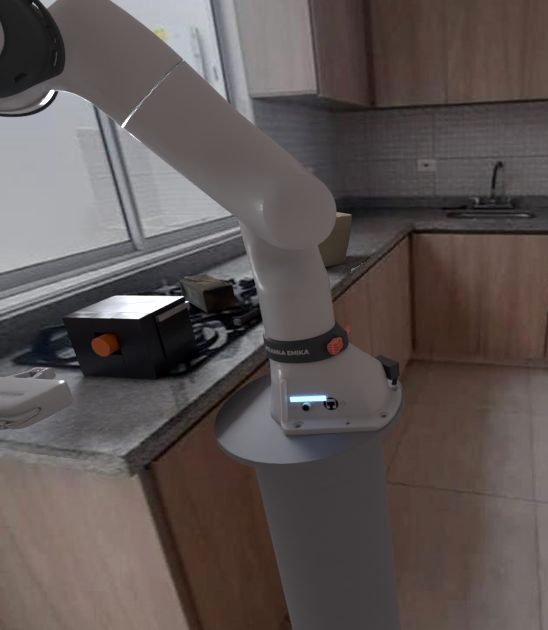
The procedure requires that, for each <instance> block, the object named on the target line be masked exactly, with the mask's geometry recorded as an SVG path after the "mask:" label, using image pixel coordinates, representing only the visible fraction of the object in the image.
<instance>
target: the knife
mask: <svg viewBox="0 0 548 630" xmlns="http://www.w3.org/2000/svg"><path fill="white" fill-rule="evenodd" d="M258 316H262V315H261V309H260V307H259V308H258V307H254V308H251V309H248V312H246V313H245V314H242V315H240V316H237V317H236V318H233V320H232V321H233V322H232V323H233V324H234V326H238V327H239V326H241V325H244V324H245V323H246V322H248V321H249V320H252V319H253V318H255V317H258Z"/></svg>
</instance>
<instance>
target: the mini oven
mask: <svg viewBox="0 0 548 630" xmlns="http://www.w3.org/2000/svg"><path fill="white" fill-rule="evenodd" d="M189 307H191V303H190V302H189V301H186V300H185V297H184V296H183V295H181V296H180V295H113V296H110V297H108V298H105V299H103V300H100V301H98V302H96V303H93V304H91V305H88V306H85V307H83V308H80V309H78V310H76V311H74V312H71V313H68V314H67V315H64V316H62V317H61V319H62V322H63V326H64V328H65V330H66V333H67V336H68V339H69V341H70V343H71V344H70V345H71V346H72V349H73V352H74V355H75V357H76V360H77V363H78V365H79V368H80V370H81V373H82V376H84V377H97V378H98V377H100V378H101V377H102V378H118V379H119V378H121V379H138V380H139V379H141V380H158V379H160V378H161V377H162V376H165V375H166V374H167V373H168V372H170V371H171V370H173V369H174V368H176V367H177V366H179V365H180V364H182V363H183V362H185V361H186V360H187V359H188V358H190V357H192V356H193V355H194V354H196V353H197V352H199V348H198V343H197V340H196V336H195V331H194V327H193V323H192V320H191V316H190V311H189V309H188V308H189ZM105 333H115V335H116V338H117V341H118V344H119V347H120V349H119V350H117V351H115V352H113V353H112V354H110V355H108V356H100V355H98V354H97V353H96V352H95V351H94V350H93V348H92V341H93V340H94V339H95V338H97V337H99V336H101V335H103V334H105Z"/></svg>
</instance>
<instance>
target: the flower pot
mask: <svg viewBox="0 0 548 630" xmlns="http://www.w3.org/2000/svg"><path fill="white" fill-rule="evenodd" d="M352 217H353V216H352V213H351V214H350V213H345V212H338V211H336V221H335V225H334V228H333V230H332V232H331V233H330V235H329V236H328V237H327V238H326V239H325V240H324V241H323V242H322V243H320V244H319V245H318V248H319V251H320V255H321V258H322V261H323V263H324V266H325V268H327V267H332V266H333V267H334V266H337V265H342V264H344V263H345V260H346V257H347V252H348V248H349V244H350V239H351V230H352V221H353V220H352Z"/></svg>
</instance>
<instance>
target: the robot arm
mask: <svg viewBox="0 0 548 630" xmlns="http://www.w3.org/2000/svg"><path fill="white" fill-rule="evenodd" d="M59 92H64V93H69V94H72V95H74V96H76V97H80V98H81V99H82V100H85V102H88V103H89V104H91V105H93V106H94V107H95V108H97V109H98V110H100V111H101V112H102V113H103V114H105V115H106V116H107V117H108V118H110V119H111V120H112V121H113V122H114V123H116V124H117V125H118V126H120V127H121V128H122V129H123V130H124V131H126V133H128V134H129V135H130V136H132V137H133V138H134V139H136V140H137V141H138V142H139V143H141V145H143V146H145V148H147V149H148V150H150V151H151V152H152V153H153V154H155V155H156V156H157V157H159V158H160V159H161V160H162V161H163V162H164V163H166V164H167V165H168V166H170V167H171V168H172V169H173V170H175V171H176V172H177V173H178V174H180V175H181V176H182V177H184V178H185V179H186V180H187V181H188V182H190V183H191V184H193V185H194V186H195V187H197V188H198V189H199V190H200V191H201V192H202V193H204V194H205V195H206V196H208V197H209V198H210V199H212V200H213V201H214V202H215V203H217V204H218V205H219V206H221V208H223V209H224V210H226V211H227V212H228V213H230V214H231V215H232V216H233V217H234V218H236V219H237V221H238V225H239V229H240V233H241V237H242V242H243V244H244V245H243V246H244V248H245V252H246V256H247V260H248V264H249V267H250V269H251V274H252V277H253V280H254V285H255V289H256V294H257V299H258V305H259V308H260V309H261V315H260V316H261V320H262V325H263V329H264V331H263V332H262V338H263V346H264V351H265V355H266V358H267V359H268V361H269V365H270V366H269V367H270V373H271V383H272V391H271V404H270V414H271V416H272V418H273V419H274V420H276V421H277V422H278V423H279V424H280V425H281V427H282V431H283V433H284V434H285V435H307V434H326V433H346V432H365V431H377V430H380V429H381V428H383V427H384V426H386V425H387V424H388V423H389V422H390V421H391V420H392V419H393V417H394V416H395V414H396V413H397V411H398V409H399V407H400V403H401V399H402V392H401V388H400V385H399V384H398V383H397V379H398V378H399V377H400V376H401V371H400V361H399V362H398V361H396V360H394V359H392V358H389V357H387V356H385V355H382V354H379V355H376V356H372V355H370V354H369V353H367V352H365V351H364V350H362V349H360V348H359V347H357V346H355V344H352V343H351V342H349V334H350V332H351V325H350V324H347V326H346V327H345V328H343V327H342V326H341V325H340V324H339V323H338V321H337V320H336V319H335V318H336V317H335V310H334V303H333V296H332V289H331V287H332V286H331V281H330V280H331V279H330V275H329V273H328V271H327V267H325V266H324V263H323V261H322V258H321V255H320V251H319V248H318V245H319V244H320V243H322V242H323V241H324V240H325V239H326V238H327V237H328V236H329V235H330V233H331V232H332V230H333V228H334V225H335V221H336V212H337V205H336V200H335V198H334V196H333V194H332V192H331V190H330V189H329V188H328V186H327V185H326V184H325V183H324V182H323V181H322V180H321V179H319V177H317V176H316V175H315V174H313V172H311V171H310V170H309V169H308V168H306V167H305V166H304V165H303V163H301V162H300V161H299V160H298V159H296V158H295V157H294V156H293V155H292V154H290V153H289V152H288V151H287V150H286V149H284V148H283V147H282V146H281V145H280V144H279V143H278V142H276V141H275V140H274V139H273V138H272V137H270V136H269V135H268V134H267V133H265V132H264V131H263V130H261V128H259V127H258V126H257V125H255V124H254V123H253V122H251V121H250V120H249V119H247V117H245V115H243V114H242V113H241V112H239V111H238V110H237V109H236V108H235V107H234V106H233V105H232V104H231V103H230V102H229V101H228V100H227V99H226V98H224V96H222V95H221V94H220V93H219V91H217V90H216V89H215V88H214V87H213V86H212V85H211V84H210V83H209V82H208V81H207V80H206V79H204V77H202V75H201V74H199V72H197V71H196V70H195V69H194V68H193V67H192V66H191V64H189V63H188V62H187V60H184V58H183V57H182V56H180V55H179V54H178V52H176V51H175V49H174V48H172V47H171V46H170V45H168V44H167V43H166V42H165V41H164V40H163V39H162V38H161V37H159V36H158V35H157V34H156V33H154V32H153V31H152V30H151V29H150V28H149V27H148V26H146V24H143V23H142V22H141V21H140V20H138V19H137V18H136V17H134V16H133V15H132V14H130V13H129V12H128V11H127V10H125V9H123V8H122V7H121V6H119V5H118V4H116V3H115V2H113V0H55V1H54V2H53V3H51V4H50V5H49V6H48V7H46V5H44V3H42V2H41V0H0V117H1V118H23V117H29V116H33V115H35V114H39V113H41V112H43V111H44V110H46V109H47V108H49V107H50V106H51V105H52V104H53V103H54V101H55V100H56V98H57V96H58V95H59ZM56 376H57V374H56V371H55V370H54V368H53V367H39V366H35V367H32V368H30V369H29V370H25V371H22V372H19V373H14V374H11V375H7V376H0V431H4V430H20V429H25V428H28V427H30V426H33V425H35V424H37V423H39V422H41V421H43V420H45V419H47V418H49V417H51V416H53V415H55V414H57V413H59V412H60V411H62V410H64V409H65V408H67V407H69V406H70V405H71V404H72V402H73V400H74V398H73V394H72V392H71V389H70V386H69V384H68V382H67V381H66V380H63V379H55V378H56ZM387 379H389V380H387ZM391 380H392V381H391ZM398 380H399V379H398Z"/></svg>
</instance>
